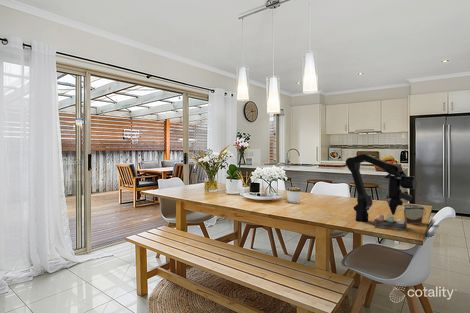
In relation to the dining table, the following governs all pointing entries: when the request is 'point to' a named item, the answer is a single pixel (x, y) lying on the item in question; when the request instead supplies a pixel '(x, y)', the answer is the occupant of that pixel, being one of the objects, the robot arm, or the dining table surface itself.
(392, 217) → the button sage
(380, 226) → the button panel
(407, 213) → the food container
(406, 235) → the dining table surface
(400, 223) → the button cream
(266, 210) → the dining table surface
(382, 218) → the button terracotta
